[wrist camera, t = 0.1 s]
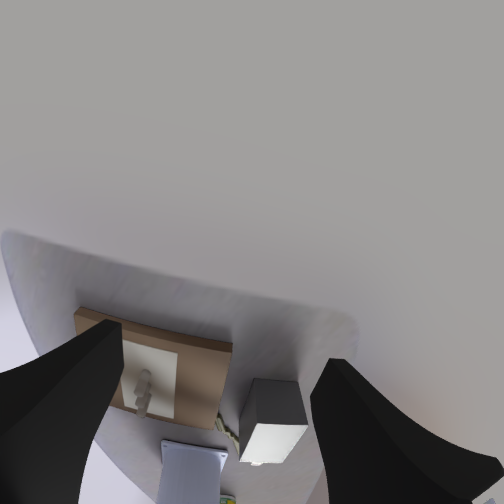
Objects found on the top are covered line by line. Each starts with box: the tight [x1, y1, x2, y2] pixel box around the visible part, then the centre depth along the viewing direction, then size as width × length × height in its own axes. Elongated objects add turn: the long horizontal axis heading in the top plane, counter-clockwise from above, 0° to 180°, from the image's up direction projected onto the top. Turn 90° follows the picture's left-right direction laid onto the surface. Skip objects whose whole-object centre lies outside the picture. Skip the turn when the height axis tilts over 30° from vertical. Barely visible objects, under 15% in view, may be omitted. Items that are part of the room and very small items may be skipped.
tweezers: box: [215, 414, 239, 455], centre depth 24 cm, size 12×2×1 cm, turn 16°
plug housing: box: [239, 378, 308, 465], centre depth 21 cm, size 9×4×5 cm, turn 167°
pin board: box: [74, 307, 233, 430], centre depth 19 cm, size 11×13×4 cm
